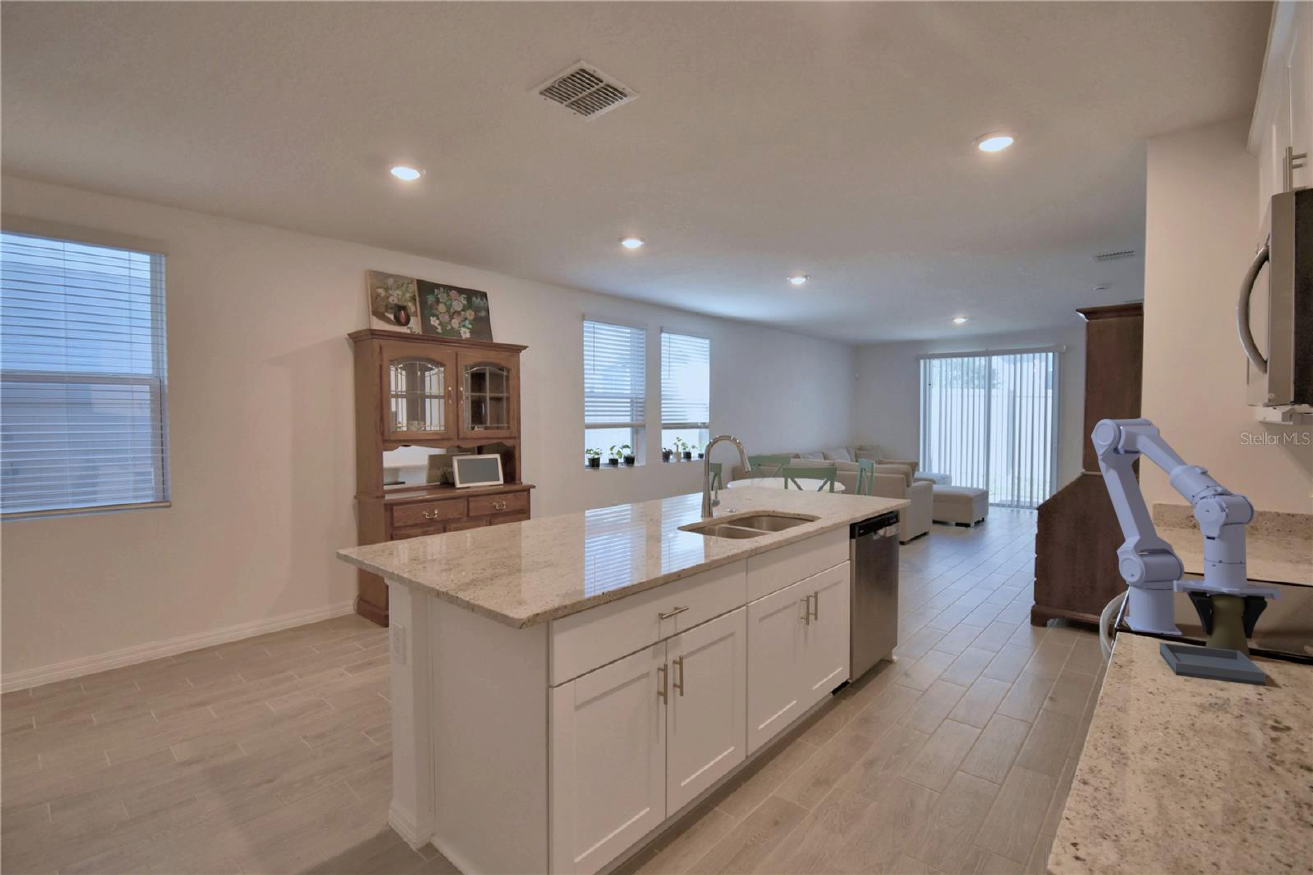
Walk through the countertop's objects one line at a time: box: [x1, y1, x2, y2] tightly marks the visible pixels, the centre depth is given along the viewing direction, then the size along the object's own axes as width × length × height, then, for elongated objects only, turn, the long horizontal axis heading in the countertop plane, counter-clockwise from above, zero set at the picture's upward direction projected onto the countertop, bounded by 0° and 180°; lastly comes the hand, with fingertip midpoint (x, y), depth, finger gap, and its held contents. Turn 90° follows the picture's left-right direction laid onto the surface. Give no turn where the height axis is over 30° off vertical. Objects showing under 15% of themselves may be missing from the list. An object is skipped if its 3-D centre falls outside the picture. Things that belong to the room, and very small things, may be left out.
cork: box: [1205, 594, 1251, 660], centre depth 113 cm, size 6×6×11 cm
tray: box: [1159, 642, 1266, 687], centre depth 106 cm, size 11×11×2 cm
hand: (1226, 635), depth 113 cm, fingers closed on cork, 5 cm apart
